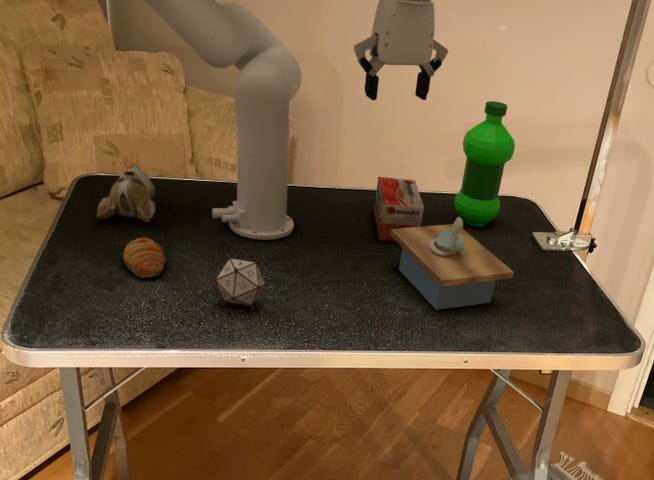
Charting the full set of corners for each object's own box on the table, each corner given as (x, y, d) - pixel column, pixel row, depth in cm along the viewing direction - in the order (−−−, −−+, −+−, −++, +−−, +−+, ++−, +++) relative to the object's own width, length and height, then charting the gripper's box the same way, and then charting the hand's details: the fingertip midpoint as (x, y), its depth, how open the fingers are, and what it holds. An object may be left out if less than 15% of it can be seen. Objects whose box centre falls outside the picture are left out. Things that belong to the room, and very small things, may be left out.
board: (440, 286, 122) (442, 280, 121) (389, 235, 137) (390, 229, 136) (512, 278, 128) (513, 272, 127) (456, 229, 142) (457, 223, 142)
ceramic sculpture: (163, 159, 147) (149, 192, 135) (166, 199, 152) (153, 234, 140) (107, 154, 146) (88, 187, 134) (112, 195, 151) (94, 231, 139)
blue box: (436, 309, 128) (441, 278, 124) (398, 269, 139) (402, 240, 135) (490, 302, 132) (497, 272, 129) (450, 264, 143) (455, 235, 140)
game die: (228, 320, 124) (202, 264, 123) (275, 299, 126) (250, 244, 124) (229, 322, 116) (201, 262, 114) (280, 300, 117) (253, 240, 115)
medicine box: (419, 244, 149) (425, 207, 144) (379, 242, 148) (383, 204, 143) (410, 214, 161) (415, 178, 157) (372, 211, 160) (376, 175, 156)
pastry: (172, 278, 126) (170, 258, 124) (130, 283, 123) (128, 262, 121) (160, 254, 133) (159, 234, 131) (121, 257, 130) (119, 237, 128)
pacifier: (429, 258, 128) (464, 260, 128) (434, 224, 125) (470, 226, 125) (428, 240, 134) (461, 242, 134) (432, 207, 131) (466, 209, 131)
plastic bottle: (506, 229, 160) (532, 112, 146) (463, 232, 156) (485, 112, 143) (483, 210, 168) (506, 97, 154) (442, 213, 164) (461, 96, 150)
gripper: (444, -11, 128) (429, 92, 137) (351, -17, 121) (342, 92, 130) (466, -3, 122) (449, 104, 132) (369, -8, 115) (359, 104, 125)
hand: (396, 98), depth 131 cm, fingers open, 9 cm apart
